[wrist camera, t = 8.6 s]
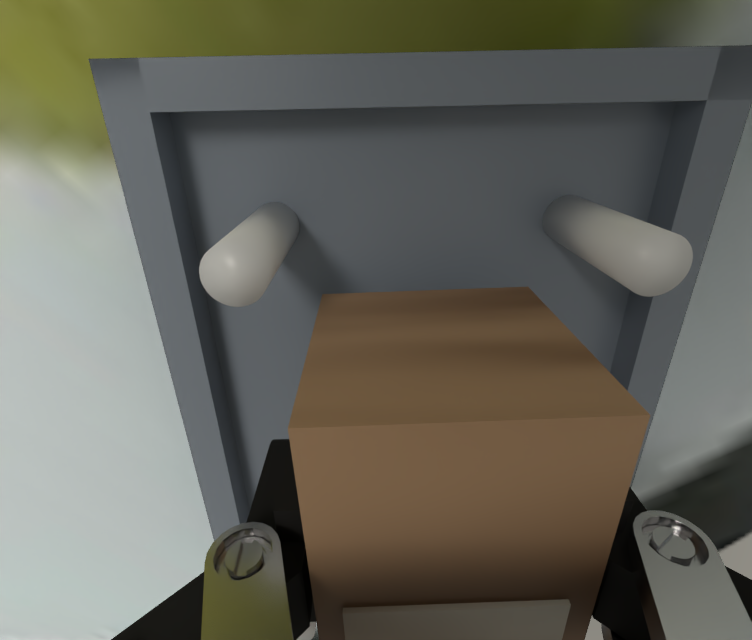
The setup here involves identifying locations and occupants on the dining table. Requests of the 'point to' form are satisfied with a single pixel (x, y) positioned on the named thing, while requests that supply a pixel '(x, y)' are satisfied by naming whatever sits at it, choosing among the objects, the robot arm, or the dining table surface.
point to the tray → (410, 207)
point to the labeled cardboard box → (457, 467)
